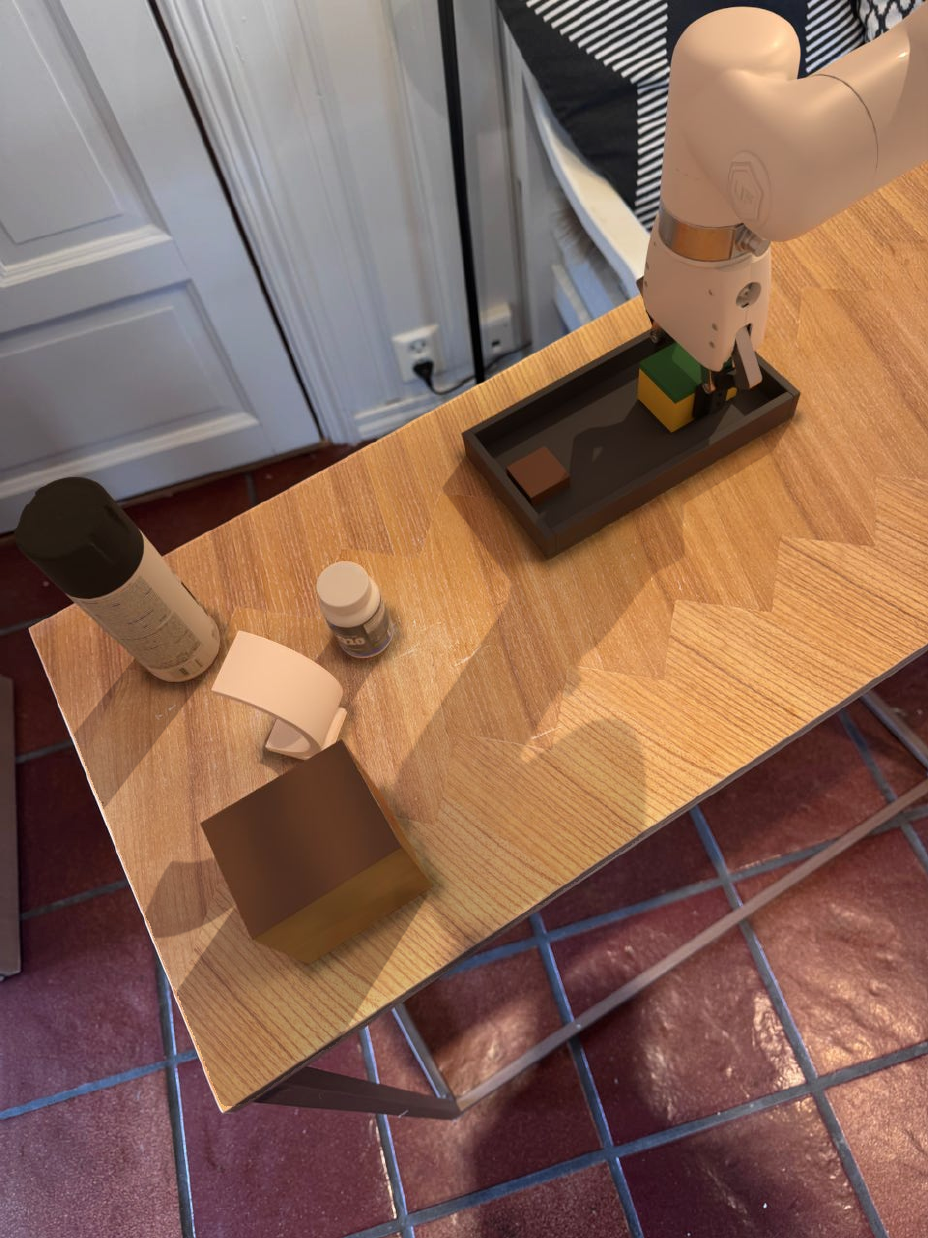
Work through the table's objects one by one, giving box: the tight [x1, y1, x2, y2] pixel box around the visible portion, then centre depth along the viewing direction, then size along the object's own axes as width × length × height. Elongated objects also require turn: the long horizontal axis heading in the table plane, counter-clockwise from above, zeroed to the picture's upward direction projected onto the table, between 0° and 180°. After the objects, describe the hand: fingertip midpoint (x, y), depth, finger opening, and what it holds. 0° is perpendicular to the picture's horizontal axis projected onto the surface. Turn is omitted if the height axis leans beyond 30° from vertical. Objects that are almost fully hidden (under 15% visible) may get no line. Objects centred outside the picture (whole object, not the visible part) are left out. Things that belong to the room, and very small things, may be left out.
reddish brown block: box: [506, 446, 570, 508], centre depth 76 cm, size 4×4×2 cm
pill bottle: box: [315, 560, 394, 659], centre depth 69 cm, size 5×5×8 cm
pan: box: [461, 328, 802, 560], centre depth 77 cm, size 26×14×3 cm, turn 121°
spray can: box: [13, 476, 221, 683], centre depth 65 cm, size 7×7×20 cm
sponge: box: [637, 342, 737, 433], centre depth 77 cm, size 7×5×4 cm
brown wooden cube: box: [199, 738, 434, 965], centre depth 58 cm, size 10×8×12 cm
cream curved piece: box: [210, 629, 348, 761], centre depth 64 cm, size 5×6×12 cm
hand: (687, 389), depth 78 cm, fingers closed on sponge, 5 cm apart
